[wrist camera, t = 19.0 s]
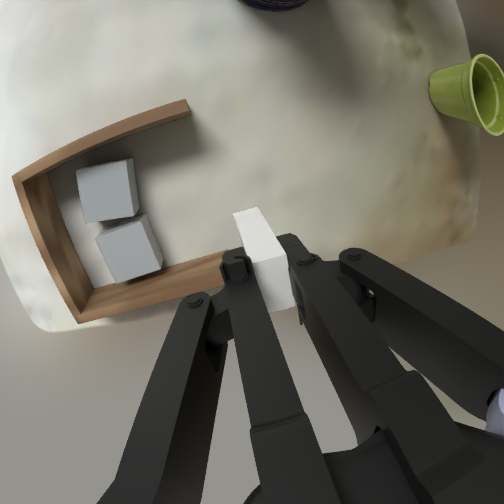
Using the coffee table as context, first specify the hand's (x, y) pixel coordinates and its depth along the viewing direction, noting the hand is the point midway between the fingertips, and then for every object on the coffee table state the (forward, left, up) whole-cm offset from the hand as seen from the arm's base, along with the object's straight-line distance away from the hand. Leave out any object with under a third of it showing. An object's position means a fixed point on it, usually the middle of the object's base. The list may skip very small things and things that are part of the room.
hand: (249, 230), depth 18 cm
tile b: (+2, -11, -11) cm, 16 cm away
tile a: (-4, -11, -11) cm, 16 cm away
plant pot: (-7, +29, -11) cm, 32 cm away
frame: (-1, -10, -11) cm, 15 cm away
